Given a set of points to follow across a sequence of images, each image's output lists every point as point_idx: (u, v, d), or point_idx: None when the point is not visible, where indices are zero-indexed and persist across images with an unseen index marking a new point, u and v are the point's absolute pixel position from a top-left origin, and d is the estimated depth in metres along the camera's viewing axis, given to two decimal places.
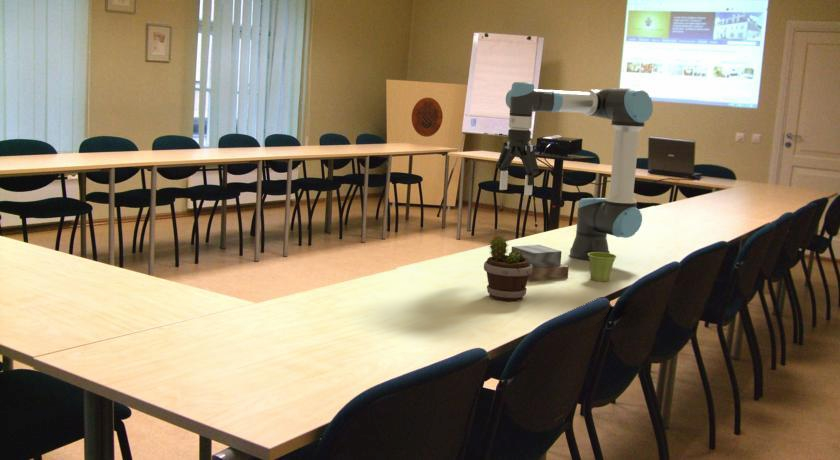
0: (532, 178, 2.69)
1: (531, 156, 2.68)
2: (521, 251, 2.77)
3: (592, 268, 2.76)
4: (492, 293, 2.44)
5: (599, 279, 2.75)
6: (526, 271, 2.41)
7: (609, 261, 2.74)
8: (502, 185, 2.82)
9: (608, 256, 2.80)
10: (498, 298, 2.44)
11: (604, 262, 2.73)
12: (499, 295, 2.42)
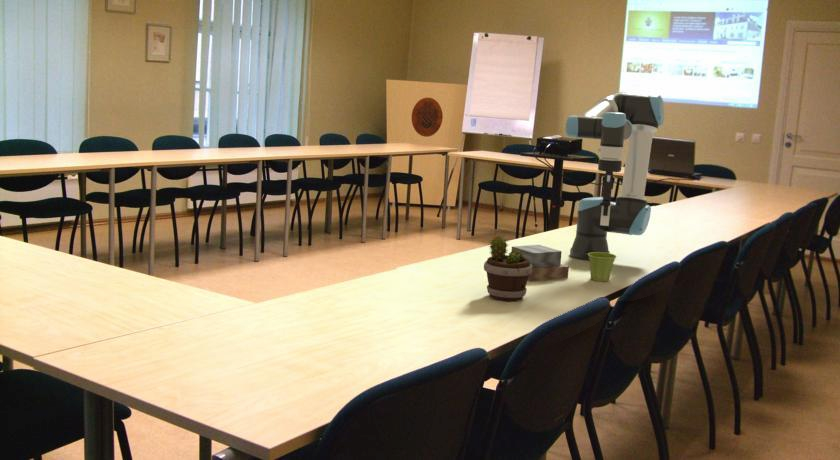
0: (606, 208, 2.66)
1: (606, 186, 2.66)
2: (521, 251, 2.77)
3: (592, 268, 2.76)
4: (492, 293, 2.44)
5: (599, 279, 2.75)
6: (526, 271, 2.41)
7: (609, 261, 2.74)
8: None
9: (608, 256, 2.80)
10: (498, 298, 2.44)
11: (604, 262, 2.73)
12: (499, 295, 2.42)
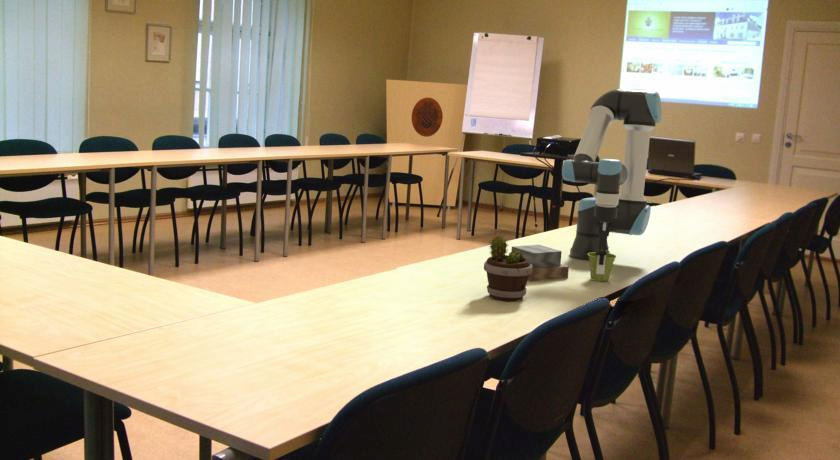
0: (601, 258, 2.71)
1: (602, 235, 2.69)
2: (521, 251, 2.77)
3: (592, 268, 2.76)
4: (492, 293, 2.44)
5: (599, 279, 2.75)
6: (526, 271, 2.41)
7: (609, 261, 2.74)
8: None
9: (608, 256, 2.80)
10: (498, 298, 2.44)
11: None
12: (499, 295, 2.42)
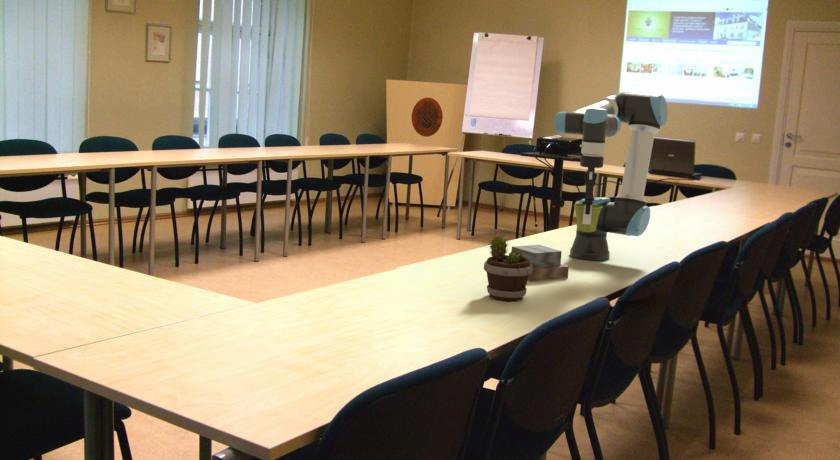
0: (588, 207, 2.69)
1: (588, 184, 2.67)
2: (521, 251, 2.77)
3: (578, 219, 2.74)
4: (492, 293, 2.44)
5: (585, 230, 2.73)
6: (526, 271, 2.41)
7: (595, 211, 2.72)
8: None
9: (594, 207, 2.78)
10: (498, 298, 2.44)
11: None
12: (499, 295, 2.42)
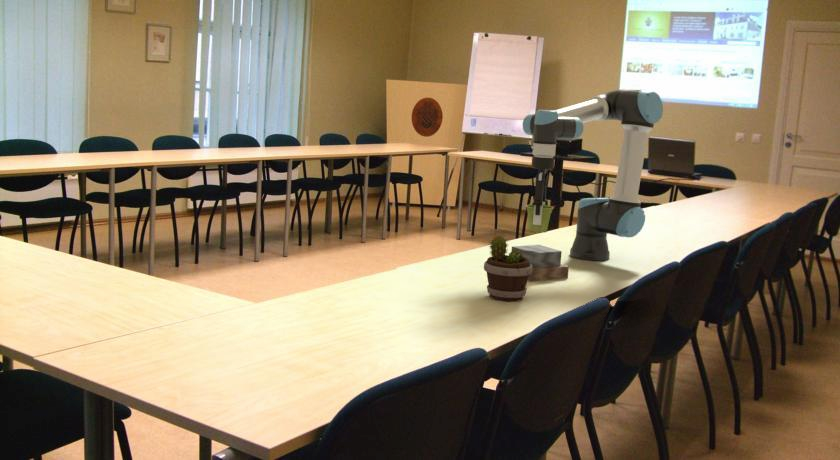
0: (538, 208, 2.71)
1: (538, 185, 2.69)
2: (521, 251, 2.77)
3: (530, 219, 2.77)
4: (492, 293, 2.44)
5: (536, 230, 2.76)
6: (526, 271, 2.41)
7: (546, 211, 2.74)
8: None
9: (546, 208, 2.80)
10: (498, 298, 2.44)
11: None
12: (499, 295, 2.42)
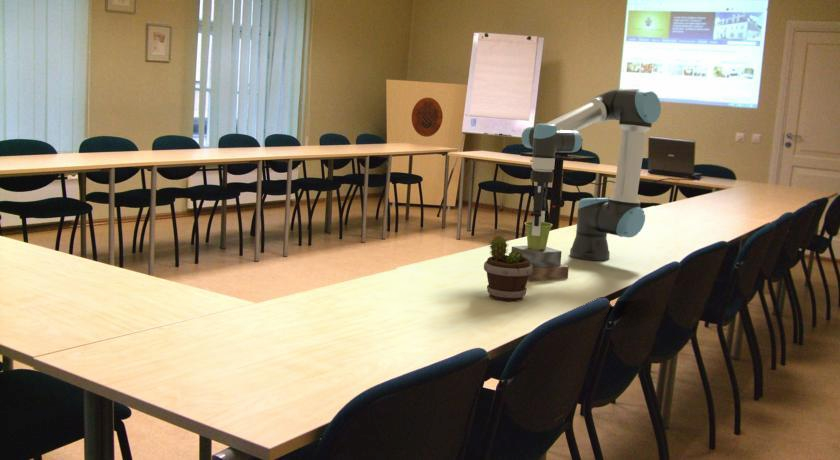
0: (536, 219, 2.70)
1: (537, 197, 2.69)
2: (521, 251, 2.77)
3: (528, 237, 2.78)
4: (492, 293, 2.44)
5: (535, 248, 2.77)
6: (526, 271, 2.41)
7: (545, 229, 2.75)
8: None
9: (545, 225, 2.82)
10: (498, 298, 2.44)
11: None
12: (499, 295, 2.42)
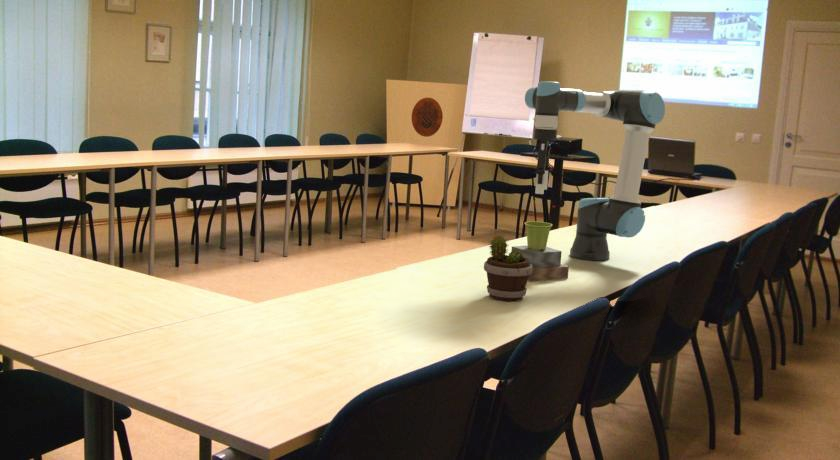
0: (540, 177, 2.68)
1: (540, 154, 2.67)
2: (521, 251, 2.77)
3: (528, 237, 2.78)
4: (492, 293, 2.44)
5: (535, 248, 2.77)
6: (526, 271, 2.41)
7: (545, 229, 2.75)
8: None
9: (545, 225, 2.82)
10: (498, 298, 2.44)
11: (539, 230, 2.75)
12: (499, 295, 2.42)
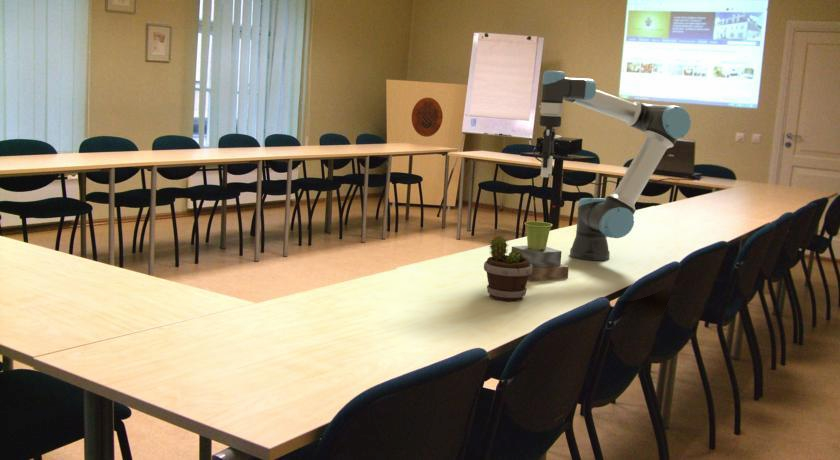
0: (545, 161, 2.83)
1: (545, 139, 2.83)
2: (521, 251, 2.77)
3: (528, 237, 2.78)
4: (492, 293, 2.44)
5: (535, 248, 2.77)
6: (526, 271, 2.41)
7: (545, 229, 2.75)
8: None
9: (545, 225, 2.82)
10: (498, 298, 2.44)
11: (539, 230, 2.75)
12: (499, 295, 2.42)
